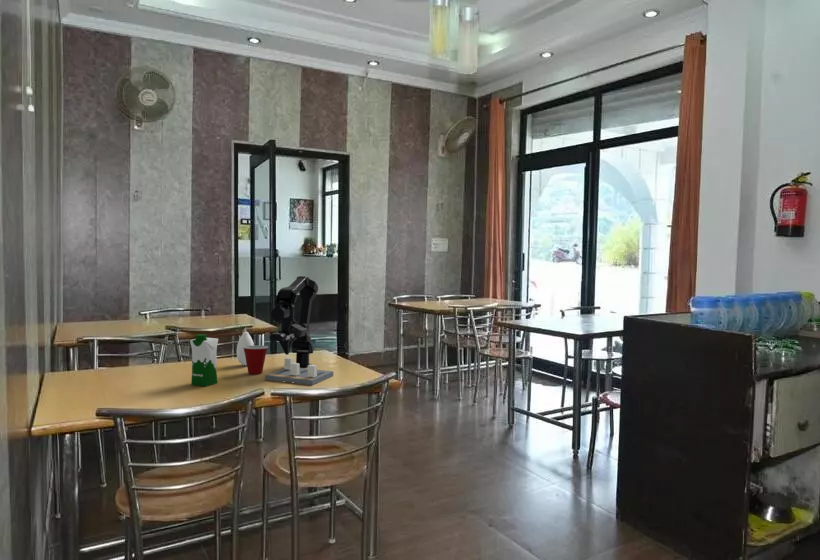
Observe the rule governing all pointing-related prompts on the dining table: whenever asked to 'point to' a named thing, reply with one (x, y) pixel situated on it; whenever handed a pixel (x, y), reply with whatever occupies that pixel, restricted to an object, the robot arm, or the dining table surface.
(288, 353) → the robot arm
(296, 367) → the block
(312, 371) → the block
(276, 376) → the breaker panel
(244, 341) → the sauce bottle
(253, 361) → the plastic cup
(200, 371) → the milk carton
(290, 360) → the block
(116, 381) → the dining table surface
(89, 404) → the dining table surface
